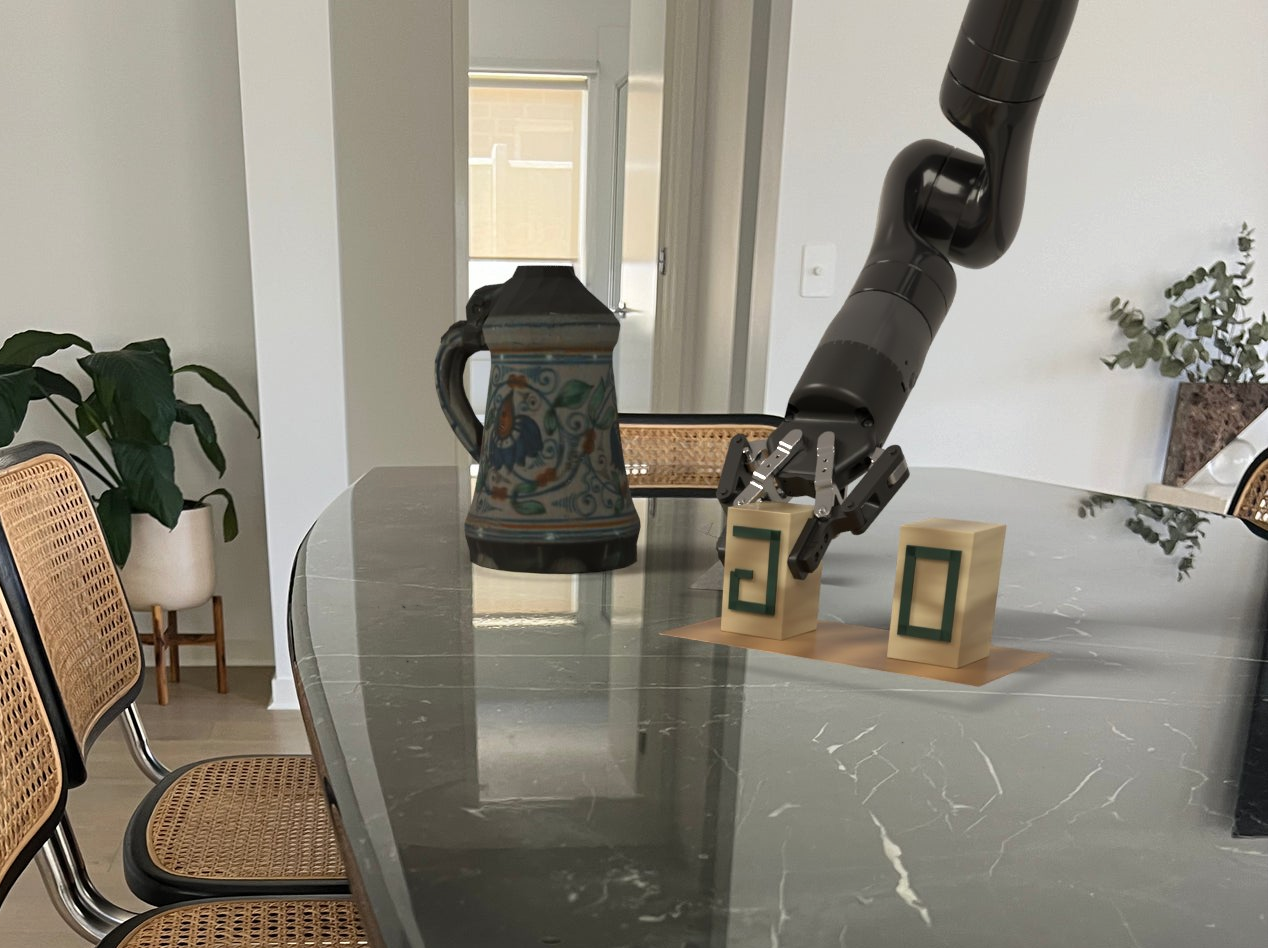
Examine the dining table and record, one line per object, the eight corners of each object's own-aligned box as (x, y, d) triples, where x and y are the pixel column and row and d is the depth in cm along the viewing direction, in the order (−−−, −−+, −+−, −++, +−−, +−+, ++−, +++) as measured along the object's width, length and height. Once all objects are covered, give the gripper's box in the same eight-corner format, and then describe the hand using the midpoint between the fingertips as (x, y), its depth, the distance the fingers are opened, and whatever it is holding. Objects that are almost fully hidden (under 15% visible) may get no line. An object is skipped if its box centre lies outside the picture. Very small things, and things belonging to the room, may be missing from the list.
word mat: (1051, 666, 98) (1053, 654, 98) (977, 699, 90) (978, 686, 90) (747, 619, 112) (748, 609, 112) (657, 644, 104) (657, 632, 103)
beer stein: (643, 575, 130) (653, 264, 120) (425, 572, 130) (417, 262, 120) (636, 547, 145) (645, 268, 135) (441, 545, 145) (435, 267, 135)
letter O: (989, 656, 97) (1007, 524, 94) (955, 669, 94) (973, 532, 90) (920, 645, 100) (935, 517, 97) (884, 658, 96) (898, 525, 93)
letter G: (817, 629, 105) (827, 506, 101) (779, 641, 101) (789, 513, 98) (757, 620, 108) (765, 500, 104) (718, 631, 104) (725, 507, 100)
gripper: (757, 334, 106) (654, 522, 102) (941, 339, 98) (836, 543, 94) (788, 409, 112) (692, 589, 108) (964, 419, 104) (867, 614, 100)
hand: (760, 566), depth 101 cm, fingers closed on letter G, 5 cm apart
